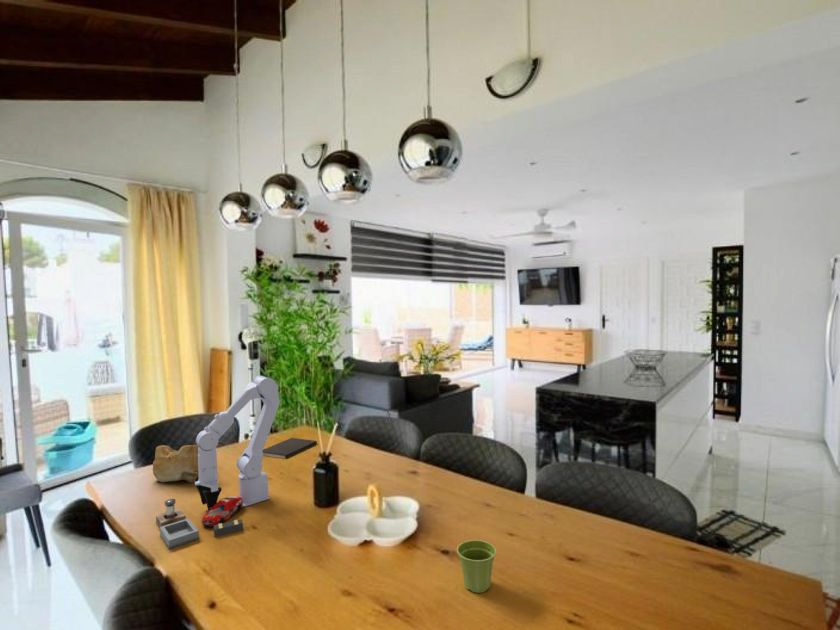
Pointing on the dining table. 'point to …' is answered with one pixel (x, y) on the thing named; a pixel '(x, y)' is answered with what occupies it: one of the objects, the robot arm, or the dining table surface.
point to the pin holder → (163, 521)
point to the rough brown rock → (176, 463)
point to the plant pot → (476, 564)
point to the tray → (179, 533)
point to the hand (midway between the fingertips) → (208, 506)
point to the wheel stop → (228, 527)
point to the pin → (170, 508)
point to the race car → (222, 510)
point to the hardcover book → (288, 448)
